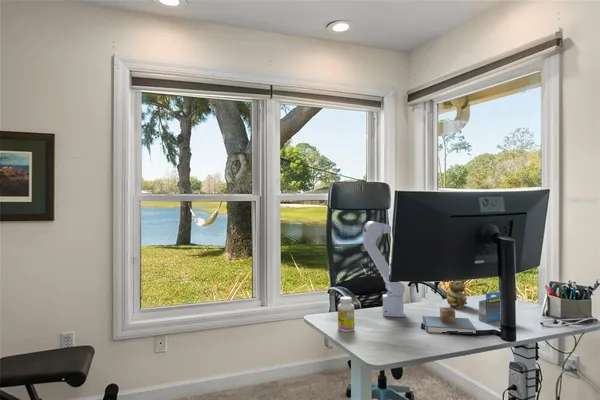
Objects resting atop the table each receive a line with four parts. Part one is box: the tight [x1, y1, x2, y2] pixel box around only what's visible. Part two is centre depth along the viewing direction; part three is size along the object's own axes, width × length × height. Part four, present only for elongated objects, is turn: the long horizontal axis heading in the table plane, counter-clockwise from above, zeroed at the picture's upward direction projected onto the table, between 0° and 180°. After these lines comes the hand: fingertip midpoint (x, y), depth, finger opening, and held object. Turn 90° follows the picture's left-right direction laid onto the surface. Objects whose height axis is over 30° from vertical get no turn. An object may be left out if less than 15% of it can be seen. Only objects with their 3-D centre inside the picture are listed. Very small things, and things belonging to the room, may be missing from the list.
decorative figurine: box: [446, 281, 468, 309], centre depth 179 cm, size 10×8×15 cm
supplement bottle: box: [337, 295, 356, 333], centre depth 149 cm, size 7×7×13 cm
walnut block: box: [439, 306, 456, 324], centre depth 149 cm, size 5×5×5 cm
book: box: [422, 315, 477, 334], centre depth 148 cm, size 18×13×3 cm
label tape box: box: [478, 291, 501, 324], centre depth 157 cm, size 9×4×12 cm, turn 113°
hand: (426, 292), depth 168 cm, fingers open, 7 cm apart
